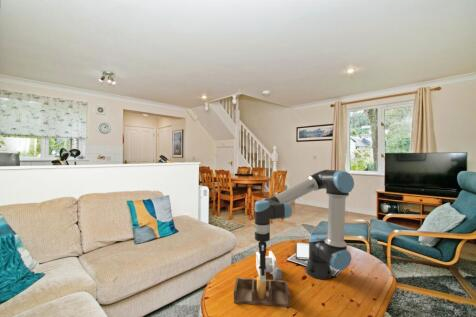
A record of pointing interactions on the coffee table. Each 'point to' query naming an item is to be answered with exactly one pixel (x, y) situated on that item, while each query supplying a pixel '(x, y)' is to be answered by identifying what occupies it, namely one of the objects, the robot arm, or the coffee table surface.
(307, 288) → the coffee table surface
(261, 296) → the yellow knobbed cylinder
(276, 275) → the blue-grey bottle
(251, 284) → the brown compartment tray
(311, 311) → the coffee table surface
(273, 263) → the cable organizer
